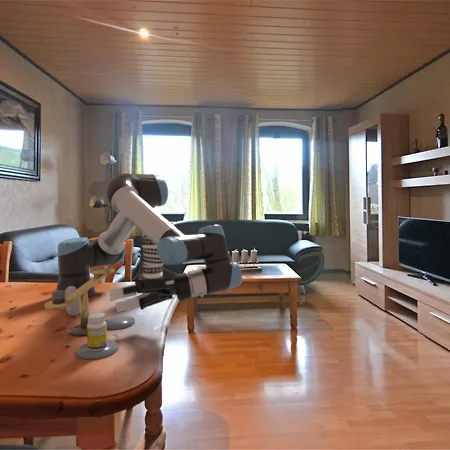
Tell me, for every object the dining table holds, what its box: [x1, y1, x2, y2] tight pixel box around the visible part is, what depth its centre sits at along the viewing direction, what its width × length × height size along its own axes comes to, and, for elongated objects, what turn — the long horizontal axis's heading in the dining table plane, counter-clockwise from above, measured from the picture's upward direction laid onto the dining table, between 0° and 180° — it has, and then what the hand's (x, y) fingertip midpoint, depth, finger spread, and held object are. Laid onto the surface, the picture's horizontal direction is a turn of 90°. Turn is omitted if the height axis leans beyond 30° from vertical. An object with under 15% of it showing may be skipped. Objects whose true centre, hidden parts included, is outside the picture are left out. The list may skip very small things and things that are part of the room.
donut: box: [65, 286, 80, 317], centre depth 119 cm, size 10×4×10 cm, turn 40°
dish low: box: [76, 339, 119, 361], centre depth 90 cm, size 10×10×1 cm
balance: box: [44, 267, 116, 337], centre depth 104 cm, size 8×26×16 cm, turn 162°
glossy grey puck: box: [104, 315, 136, 330], centre depth 111 cm, size 10×10×1 cm
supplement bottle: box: [86, 312, 108, 351], centre depth 90 cm, size 5×5×8 cm
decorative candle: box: [140, 233, 164, 296], centre depth 147 cm, size 9×9×25 cm
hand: (113, 301), depth 97 cm, fingers open, 13 cm apart
